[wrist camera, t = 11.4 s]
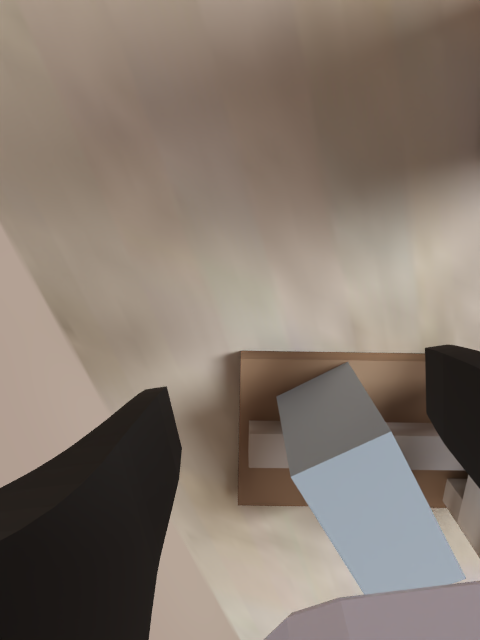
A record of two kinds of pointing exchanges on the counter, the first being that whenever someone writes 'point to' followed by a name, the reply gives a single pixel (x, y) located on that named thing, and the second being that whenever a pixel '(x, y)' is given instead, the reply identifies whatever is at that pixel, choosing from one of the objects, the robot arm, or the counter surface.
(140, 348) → the counter surface
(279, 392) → the board
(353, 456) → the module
